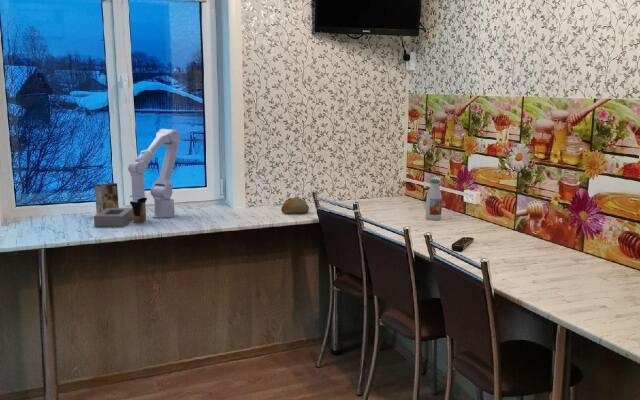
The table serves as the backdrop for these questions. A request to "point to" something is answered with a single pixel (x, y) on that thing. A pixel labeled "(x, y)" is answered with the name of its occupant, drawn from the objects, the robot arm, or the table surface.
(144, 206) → the walnut block
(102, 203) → the coffee box
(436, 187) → the milk bottle
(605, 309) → the table surface
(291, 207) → the bread roll
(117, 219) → the well block
